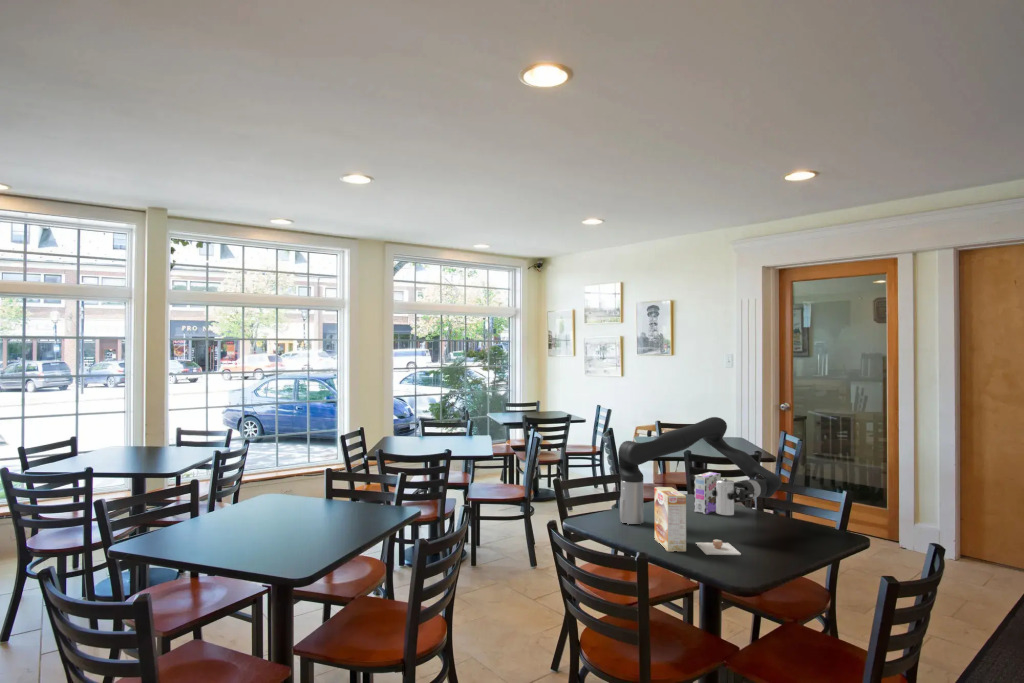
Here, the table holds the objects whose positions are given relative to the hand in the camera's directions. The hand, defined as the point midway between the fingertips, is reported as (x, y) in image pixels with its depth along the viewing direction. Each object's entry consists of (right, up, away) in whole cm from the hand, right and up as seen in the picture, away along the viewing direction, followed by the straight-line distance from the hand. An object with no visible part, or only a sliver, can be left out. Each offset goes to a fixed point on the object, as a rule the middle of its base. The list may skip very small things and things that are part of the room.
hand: (721, 495), depth 220 cm
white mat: (-5, -16, -11) cm, 20 cm away
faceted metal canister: (+2, -7, +1) cm, 7 cm away
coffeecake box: (-21, -17, -7) cm, 28 cm away
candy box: (+9, -19, +44) cm, 49 cm away
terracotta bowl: (-5, -16, -11) cm, 20 cm away
